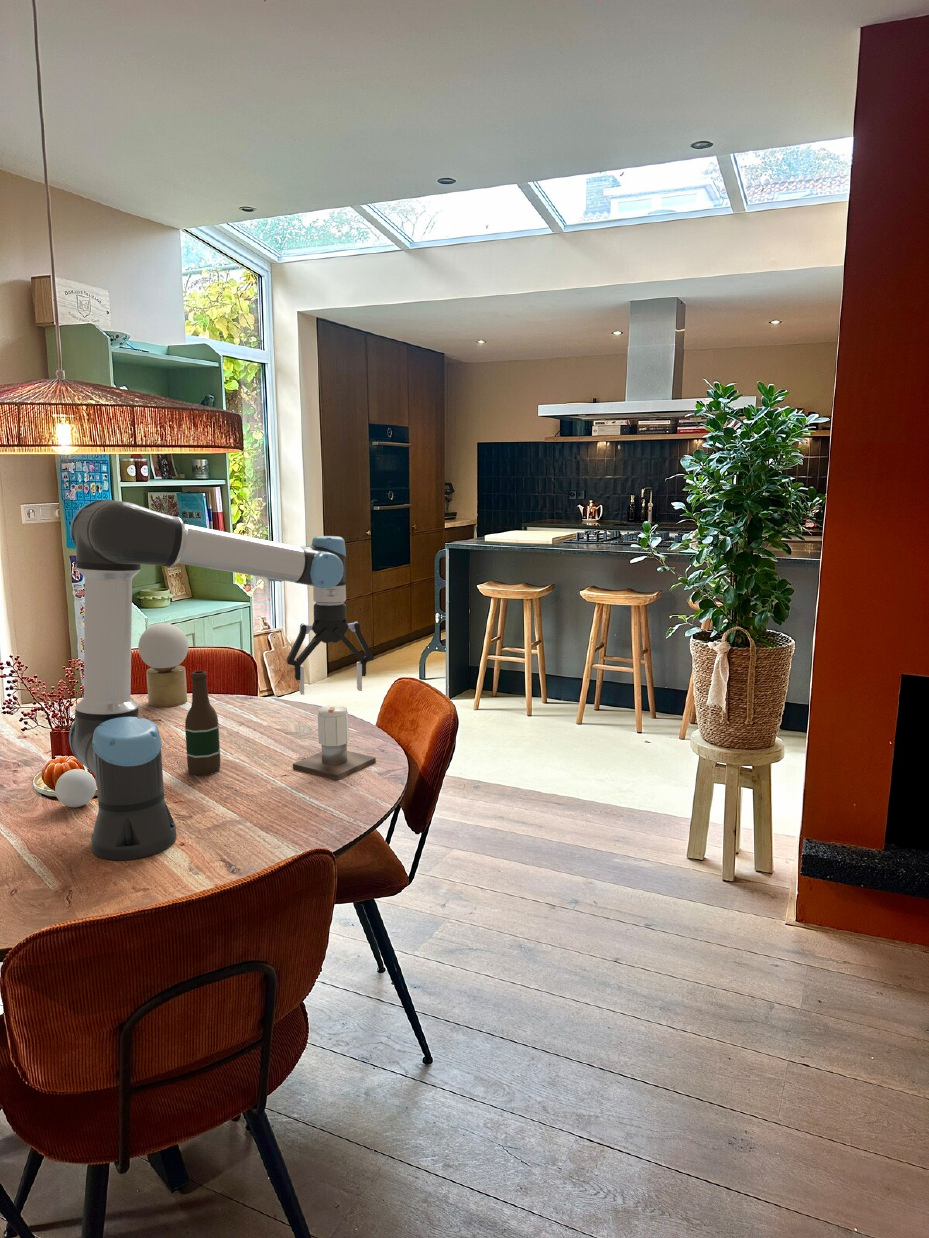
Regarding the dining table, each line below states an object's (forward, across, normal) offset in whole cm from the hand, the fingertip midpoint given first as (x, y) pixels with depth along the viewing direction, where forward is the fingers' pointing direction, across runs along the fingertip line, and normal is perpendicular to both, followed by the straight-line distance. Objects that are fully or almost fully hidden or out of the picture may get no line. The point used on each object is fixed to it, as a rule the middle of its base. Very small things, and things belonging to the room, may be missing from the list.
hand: (331, 691), depth 200 cm
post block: (+18, +1, 0) cm, 18 cm away
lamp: (+19, -39, +70) cm, 82 cm away
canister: (+12, 0, 0) cm, 12 cm away
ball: (+20, -55, -8) cm, 59 cm away
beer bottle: (+19, -29, +6) cm, 36 cm away
